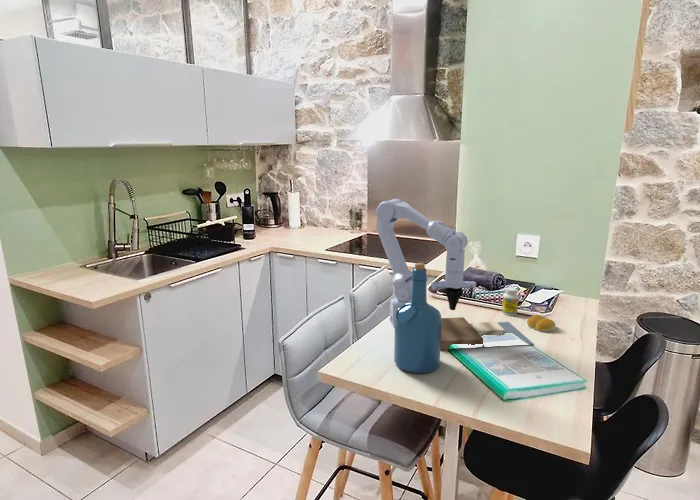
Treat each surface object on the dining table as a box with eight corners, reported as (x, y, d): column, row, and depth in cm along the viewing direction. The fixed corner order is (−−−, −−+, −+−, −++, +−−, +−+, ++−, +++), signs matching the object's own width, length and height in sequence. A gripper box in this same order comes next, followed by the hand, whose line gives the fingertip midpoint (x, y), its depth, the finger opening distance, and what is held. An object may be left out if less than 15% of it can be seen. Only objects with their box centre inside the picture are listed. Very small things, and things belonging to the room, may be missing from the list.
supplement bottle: (516, 311, 169) (518, 287, 167) (517, 316, 164) (519, 291, 162) (501, 310, 171) (503, 286, 168) (501, 315, 166) (503, 290, 163)
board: (438, 350, 138) (439, 341, 137) (423, 327, 155) (424, 319, 155) (482, 347, 139) (483, 338, 139) (463, 325, 157) (463, 317, 156)
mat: (484, 347, 139) (484, 346, 139) (464, 325, 157) (464, 323, 157) (533, 345, 141) (533, 343, 141) (508, 323, 158) (508, 321, 158)
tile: (477, 338, 145) (477, 331, 144) (469, 329, 152) (470, 322, 151) (504, 337, 146) (504, 330, 145) (495, 328, 152) (495, 321, 152)
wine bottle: (419, 349, 138) (422, 255, 131) (450, 367, 127) (455, 265, 121) (383, 361, 131) (384, 262, 124) (413, 380, 120) (416, 273, 113)
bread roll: (545, 335, 149) (546, 323, 148) (522, 326, 156) (523, 315, 155) (560, 329, 153) (561, 318, 152) (537, 321, 160) (538, 310, 160)
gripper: (436, 273, 142) (434, 314, 145) (480, 272, 143) (477, 312, 146) (430, 267, 149) (428, 306, 152) (472, 266, 150) (470, 305, 153)
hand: (452, 309), depth 150 cm, fingers closed
